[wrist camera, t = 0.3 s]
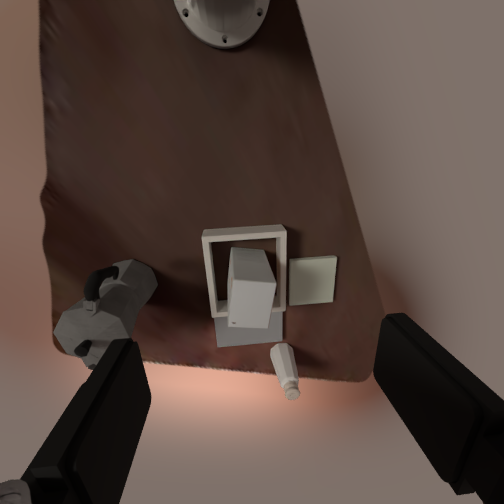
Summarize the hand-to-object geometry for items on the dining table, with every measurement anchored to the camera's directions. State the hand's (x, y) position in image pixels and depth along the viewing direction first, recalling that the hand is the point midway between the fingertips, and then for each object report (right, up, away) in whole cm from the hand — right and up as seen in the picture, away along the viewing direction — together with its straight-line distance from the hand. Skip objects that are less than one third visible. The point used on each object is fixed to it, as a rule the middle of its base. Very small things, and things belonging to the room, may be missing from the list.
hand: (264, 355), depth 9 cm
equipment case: (-2, -4, +40) cm, 40 cm away
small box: (-2, +1, +38) cm, 38 cm away
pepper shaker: (+6, -19, +47) cm, 51 cm away
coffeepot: (-23, 0, +37) cm, 43 cm away
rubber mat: (+11, -2, +40) cm, 42 cm away
